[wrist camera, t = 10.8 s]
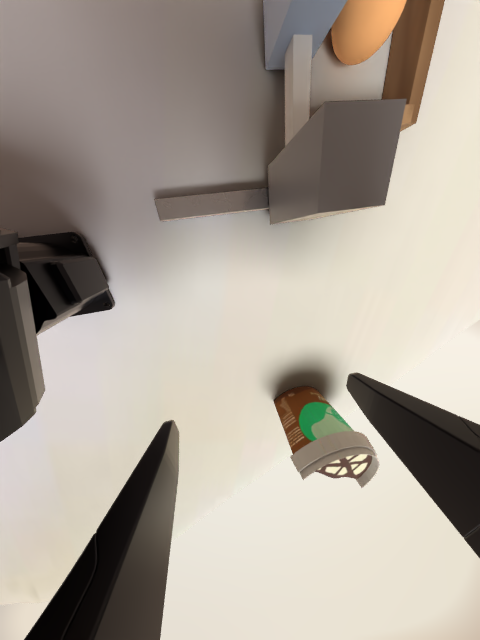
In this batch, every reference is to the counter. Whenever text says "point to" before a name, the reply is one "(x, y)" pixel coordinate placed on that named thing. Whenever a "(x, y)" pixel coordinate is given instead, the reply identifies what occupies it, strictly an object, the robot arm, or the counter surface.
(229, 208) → the rail
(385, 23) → the ball
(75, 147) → the counter surface
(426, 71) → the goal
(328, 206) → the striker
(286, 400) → the food container
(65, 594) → the robot arm
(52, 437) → the counter surface
